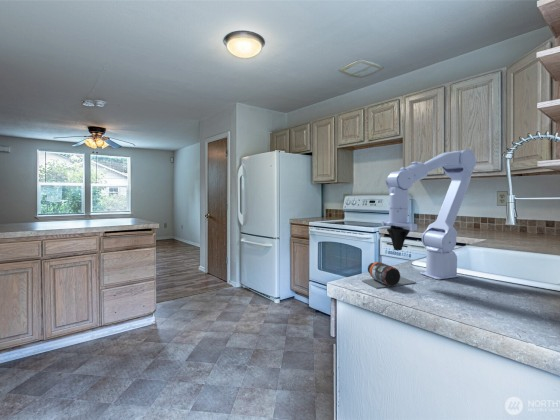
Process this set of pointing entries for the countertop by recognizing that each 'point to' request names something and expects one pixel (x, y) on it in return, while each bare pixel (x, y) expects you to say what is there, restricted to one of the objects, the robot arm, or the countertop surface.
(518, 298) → the countertop surface
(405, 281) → the mat
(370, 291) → the countertop surface
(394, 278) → the supplement bottle
